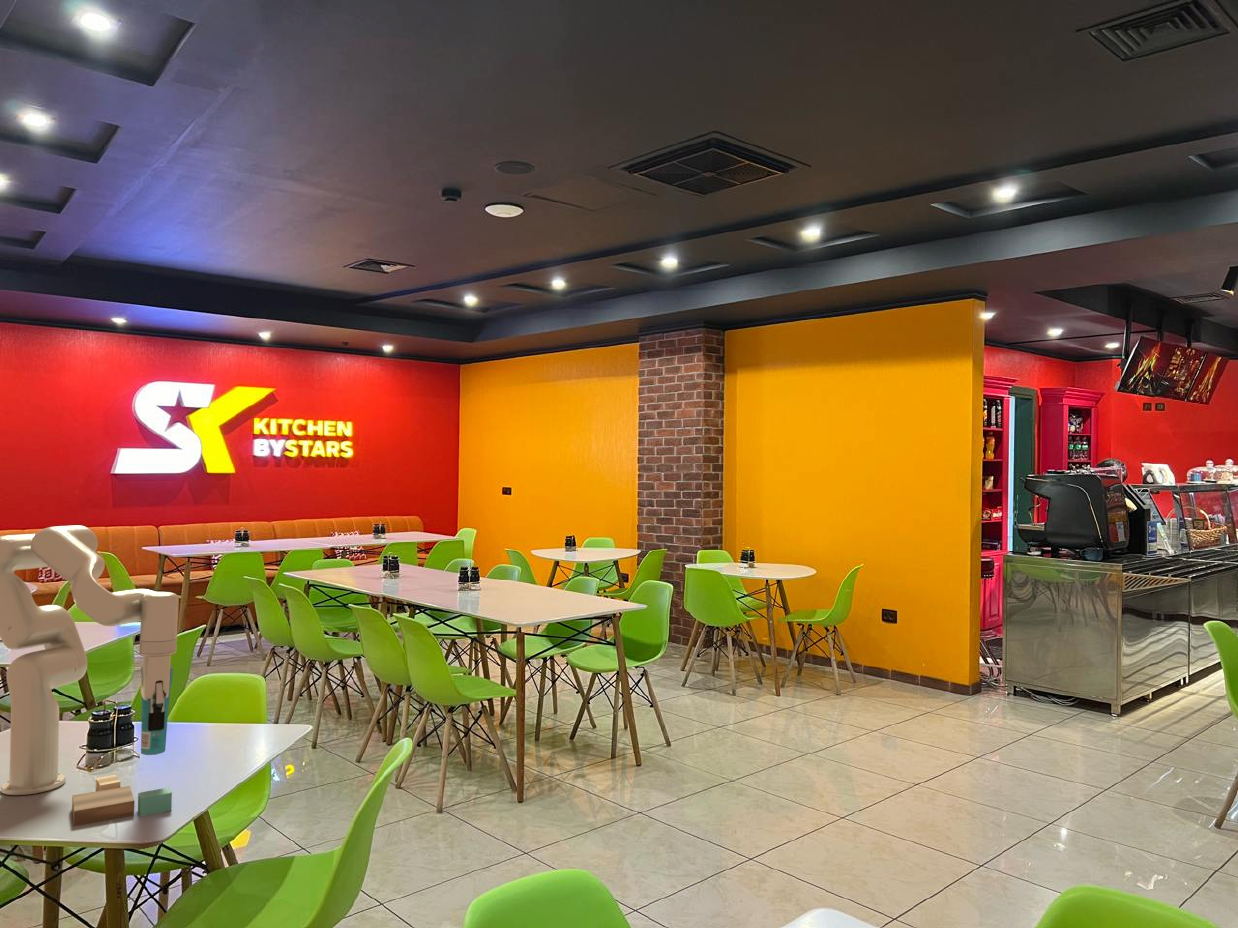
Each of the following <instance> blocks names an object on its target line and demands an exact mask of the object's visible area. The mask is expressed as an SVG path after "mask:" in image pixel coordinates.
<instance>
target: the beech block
mask: <svg viewBox="0 0 1238 928" xmlns="http://www.w3.org/2000/svg"><path fill="white" fill-rule="evenodd" d="M114 788H121V780H120V778H119V777H118V776H117V775H116V774H113V775H106V776H102V777H101V776H100V777H96V778H95V792H96V791H102V790H108V789H114Z"/></svg>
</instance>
